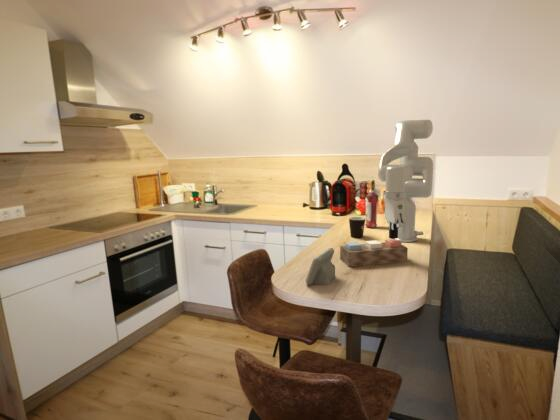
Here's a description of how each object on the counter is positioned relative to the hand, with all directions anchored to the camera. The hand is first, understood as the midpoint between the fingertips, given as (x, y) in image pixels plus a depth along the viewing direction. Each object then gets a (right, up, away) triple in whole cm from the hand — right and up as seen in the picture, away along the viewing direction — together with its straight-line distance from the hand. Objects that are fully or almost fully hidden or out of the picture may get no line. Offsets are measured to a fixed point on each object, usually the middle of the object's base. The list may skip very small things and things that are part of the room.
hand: (393, 238), depth 154 cm
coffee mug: (-6, -2, +41) cm, 41 cm away
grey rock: (-33, -14, -20) cm, 41 cm away
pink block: (0, -5, +1) cm, 5 cm away
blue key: (-18, -6, -2) cm, 19 cm away
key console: (-9, -10, 0) cm, 13 cm away
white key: (-9, -6, -1) cm, 10 cm away
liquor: (+6, +2, +61) cm, 61 cm away
